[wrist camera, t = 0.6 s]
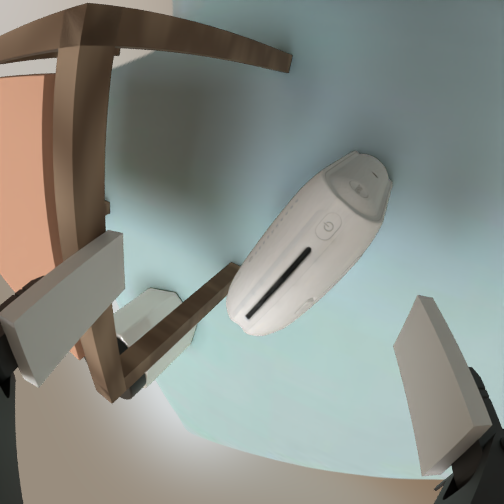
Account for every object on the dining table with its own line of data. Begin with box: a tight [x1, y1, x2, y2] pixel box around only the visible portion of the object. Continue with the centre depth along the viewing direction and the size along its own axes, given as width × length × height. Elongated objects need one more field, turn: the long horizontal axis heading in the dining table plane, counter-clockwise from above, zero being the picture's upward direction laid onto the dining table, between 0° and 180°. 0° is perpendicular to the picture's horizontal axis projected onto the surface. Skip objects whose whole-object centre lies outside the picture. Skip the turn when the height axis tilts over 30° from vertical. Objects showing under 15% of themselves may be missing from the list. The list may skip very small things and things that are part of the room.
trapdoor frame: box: [0, 3, 293, 403], centre depth 22 cm, size 21×21×18 cm
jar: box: [84, 288, 197, 399], centre depth 35 cm, size 9×8×12 cm
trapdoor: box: [0, 73, 85, 360], centre depth 15 cm, size 16×16×1 cm
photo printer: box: [226, 151, 393, 336], centre depth 19 cm, size 10×4×12 cm, turn 147°
